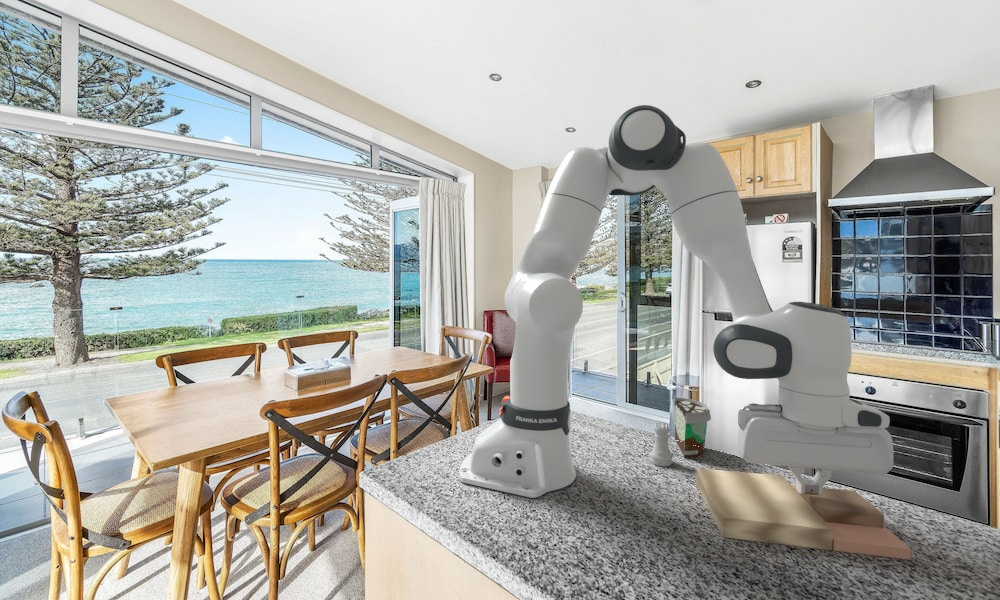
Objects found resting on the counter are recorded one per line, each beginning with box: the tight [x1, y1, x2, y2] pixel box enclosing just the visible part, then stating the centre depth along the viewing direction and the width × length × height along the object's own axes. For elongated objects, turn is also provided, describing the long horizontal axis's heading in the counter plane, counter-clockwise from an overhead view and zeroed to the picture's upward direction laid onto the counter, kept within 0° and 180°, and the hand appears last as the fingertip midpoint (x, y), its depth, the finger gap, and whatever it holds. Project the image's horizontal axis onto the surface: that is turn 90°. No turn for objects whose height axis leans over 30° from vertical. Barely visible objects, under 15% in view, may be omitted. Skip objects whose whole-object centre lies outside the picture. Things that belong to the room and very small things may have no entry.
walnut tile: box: [799, 487, 885, 528], centre depth 65 cm, size 8×7×2 cm
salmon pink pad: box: [791, 484, 912, 561], centre depth 65 cm, size 9×16×2 cm, turn 167°
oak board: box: [696, 467, 833, 551], centre depth 68 cm, size 14×16×3 cm
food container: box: [673, 397, 712, 459], centre depth 92 cm, size 12×6×10 cm, turn 168°
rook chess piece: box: [649, 421, 674, 468], centre depth 86 cm, size 4×4×8 cm
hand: (808, 493), depth 66 cm, fingers closed
